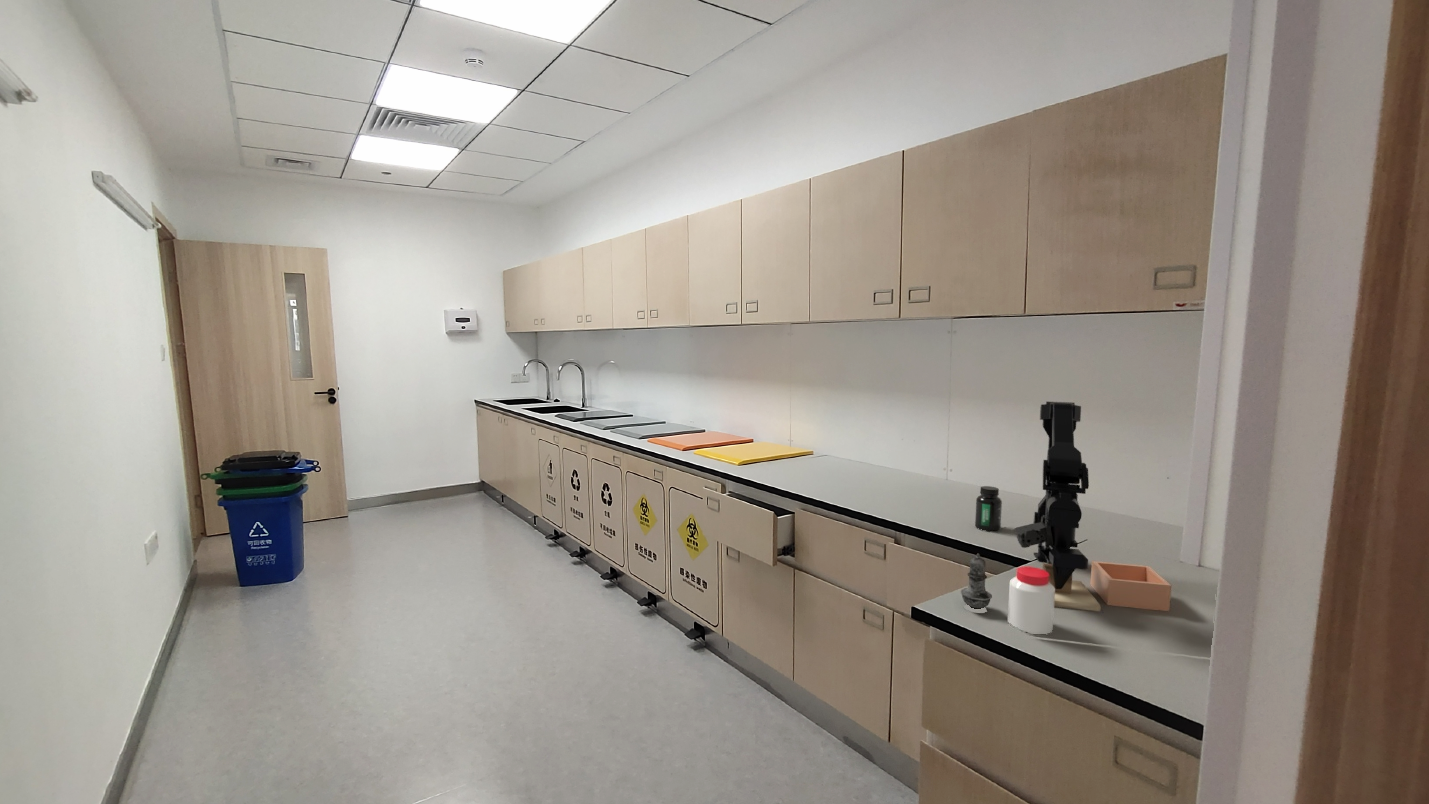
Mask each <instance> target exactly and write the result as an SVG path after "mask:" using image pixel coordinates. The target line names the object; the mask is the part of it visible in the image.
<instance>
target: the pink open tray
mask: <svg viewBox="0 0 1429 804" xmlns="http://www.w3.org/2000/svg"><path fill="white" fill-rule="evenodd" d="M1090 571H1091V572H1090V586H1091V587H1092V589H1094V591H1095V592H1096V593H1097V595H1098V596H1099V597H1100V598H1101V599H1102V600H1103V601H1104V603H1105V604H1106V606H1115V607H1122V608H1123V607H1125V608H1133V609H1134V608H1135V609H1145V610H1154V611H1163V612H1170V605H1171V604H1170V603H1171V594H1172V585H1171V584H1170V583H1169V582H1168V581H1167V580H1166V579H1164V578H1163V577H1162V576H1161V575H1160V574H1158V573H1157V572H1156V571H1155V569H1153V568H1151V567H1150V566H1149V565H1148V566H1147V565H1140V564H1127V563H1118V562H1105V561H1095V560H1092V561H1091V569H1090Z"/></svg>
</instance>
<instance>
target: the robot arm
mask: <svg viewBox="0 0 1429 804" xmlns="http://www.w3.org/2000/svg"><path fill="white" fill-rule="evenodd" d="M1039 408H1040V410H1039V420H1040V421H1042V428H1043V430H1044V431H1045V432H1046V436H1048V442H1047V443H1048V444H1047V455H1046V459H1043V461H1042V491H1043V490H1044V491H1045V494H1044V496H1043V498H1042V499H1041V500H1040V501H1039V502H1038V504H1037V511H1034V515H1033V523H1029V524H1026V525H1021V526H1018V527H1015V528H1014V529H1013V530H1014V534H1015V536H1016V539H1017V542H1018V544H1019V545H1020V547H1021V548H1023V549H1025V548H1026V549H1028V548H1030V547H1031V546H1036V545H1037V552H1033V556H1034V557H1035V559H1036V560H1037V562H1038V563H1046V564H1052V565H1053V573H1054V581H1055V588H1056V589H1062V588H1063V586H1064V585H1065V583H1066V582H1067V580H1068V579H1069V577H1070V576H1071V574H1072V575H1073V573H1074V572H1075V570H1076V569H1078V570H1087V569H1089V568H1088V567H1089V559H1088V558H1087V557H1086V555H1084V553H1083V552H1082V551H1081V550H1079V549H1077V548H1078V546H1079V543H1078V541H1077V540H1076V529H1079V528H1080V521H1081V519H1082V517H1083V516H1082V515H1083V513H1082V510H1081V507H1080V503H1079V501H1078V498H1079V497H1078V495H1079V494H1083V495H1086V490H1088V489H1089V487H1090V486H1089V467H1087V464H1086V463H1085V462H1083V461H1082V459H1083V458H1082V452H1081V451H1080V450H1079V449H1078V448H1077V447H1075V438H1074V436H1075V435H1074V434H1075V433H1074V432H1075V431H1076V429H1077V423H1080V422H1081V421H1082V420H1081V417H1082V416H1081V415H1082V406H1081V405H1076V404H1075V402H1071V401H1070V402H1066V401H1046V403H1045V404H1040V407H1039Z"/></svg>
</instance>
